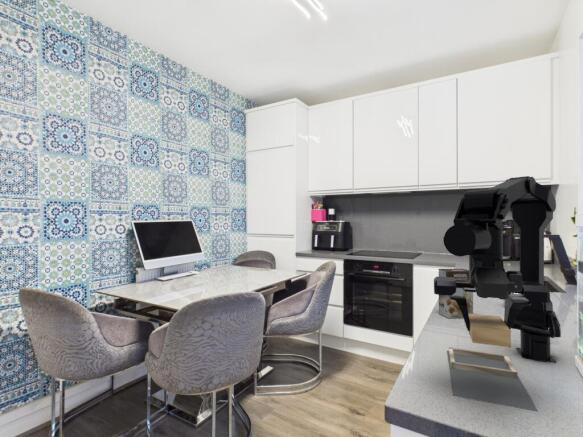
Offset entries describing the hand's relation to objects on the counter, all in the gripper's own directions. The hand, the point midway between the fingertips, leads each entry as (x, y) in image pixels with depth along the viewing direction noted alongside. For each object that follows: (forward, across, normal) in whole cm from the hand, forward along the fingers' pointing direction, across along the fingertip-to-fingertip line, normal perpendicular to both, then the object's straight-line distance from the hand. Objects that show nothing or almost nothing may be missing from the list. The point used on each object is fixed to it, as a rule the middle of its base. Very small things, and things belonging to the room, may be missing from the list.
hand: (487, 332), depth 61 cm
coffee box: (+12, -2, +52) cm, 53 cm away
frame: (+11, 0, +11) cm, 15 cm away
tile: (+1, 0, 0) cm, 1 cm away
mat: (+11, 0, +6) cm, 13 cm away
